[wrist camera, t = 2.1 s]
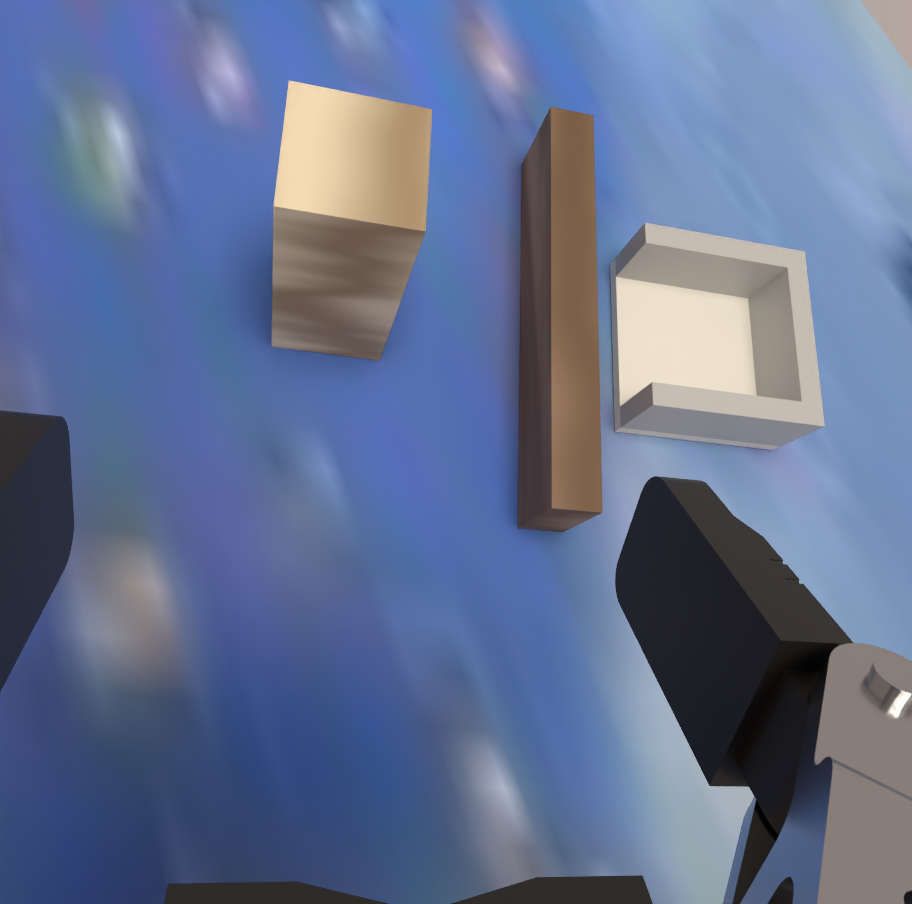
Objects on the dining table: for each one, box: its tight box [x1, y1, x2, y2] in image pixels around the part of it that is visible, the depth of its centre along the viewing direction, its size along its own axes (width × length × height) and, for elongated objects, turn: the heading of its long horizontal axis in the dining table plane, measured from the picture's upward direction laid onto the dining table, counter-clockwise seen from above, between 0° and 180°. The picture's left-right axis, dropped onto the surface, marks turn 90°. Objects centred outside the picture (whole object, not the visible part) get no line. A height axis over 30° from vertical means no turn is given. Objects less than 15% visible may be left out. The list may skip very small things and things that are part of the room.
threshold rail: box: [518, 107, 602, 532], centre depth 33 cm, size 2×18×4 cm, turn 177°
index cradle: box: [610, 223, 825, 450], centre depth 34 cm, size 8×8×4 cm
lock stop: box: [272, 81, 432, 361], centre depth 28 cm, size 4×4×10 cm
